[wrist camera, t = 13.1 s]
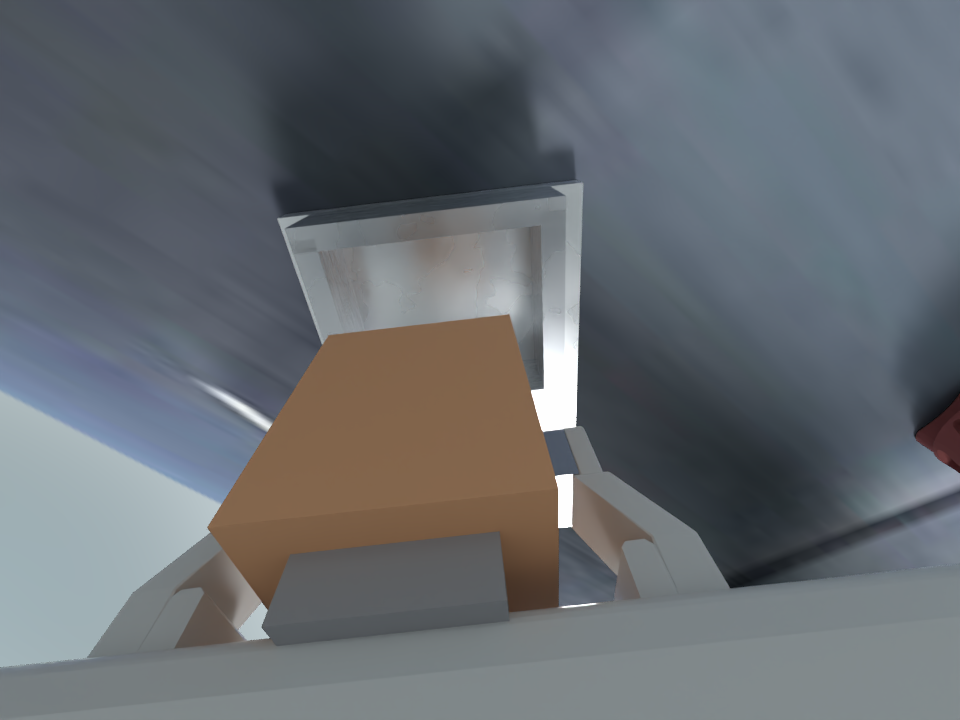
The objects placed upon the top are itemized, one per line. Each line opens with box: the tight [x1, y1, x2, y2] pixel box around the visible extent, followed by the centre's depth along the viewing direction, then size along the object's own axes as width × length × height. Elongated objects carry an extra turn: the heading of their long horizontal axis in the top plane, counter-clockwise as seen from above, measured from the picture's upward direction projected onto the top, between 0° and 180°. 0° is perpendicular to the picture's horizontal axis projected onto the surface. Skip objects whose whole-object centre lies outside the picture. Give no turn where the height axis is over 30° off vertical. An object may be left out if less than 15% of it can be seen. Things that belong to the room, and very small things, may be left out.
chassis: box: [277, 180, 583, 431], centre depth 18 cm, size 19×14×12 cm
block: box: [208, 314, 559, 646], centre depth 9 cm, size 5×6×7 cm
